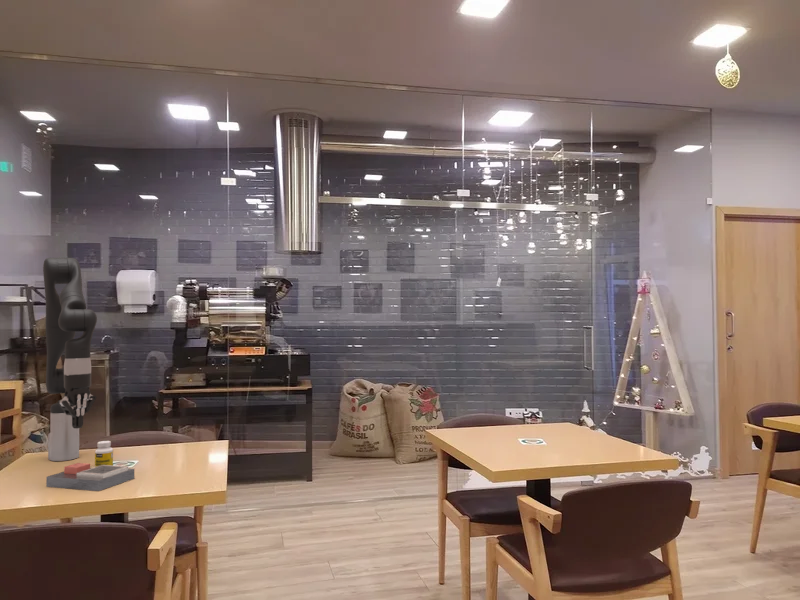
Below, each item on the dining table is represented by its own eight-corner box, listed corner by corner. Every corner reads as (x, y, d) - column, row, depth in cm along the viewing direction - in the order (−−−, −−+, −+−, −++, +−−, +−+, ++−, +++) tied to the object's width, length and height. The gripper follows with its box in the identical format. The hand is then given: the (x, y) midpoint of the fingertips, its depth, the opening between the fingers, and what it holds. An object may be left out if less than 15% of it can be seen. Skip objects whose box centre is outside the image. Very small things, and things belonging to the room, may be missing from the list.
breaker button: (64, 478, 176) (64, 466, 176) (77, 474, 181) (77, 462, 181) (76, 479, 175) (77, 467, 175) (90, 474, 180) (90, 463, 180)
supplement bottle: (92, 474, 186) (93, 444, 187) (97, 470, 192) (97, 440, 192) (111, 472, 188) (111, 442, 188) (114, 468, 193) (114, 439, 194)
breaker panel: (46, 486, 173) (46, 472, 173) (84, 474, 186) (84, 461, 186) (98, 491, 167) (98, 476, 167) (134, 478, 180) (134, 465, 180)
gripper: (85, 370, 187) (85, 424, 186) (49, 374, 174) (49, 431, 173) (103, 370, 185) (103, 424, 184) (69, 374, 172) (68, 432, 171)
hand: (77, 427), depth 179 cm, fingers closed
